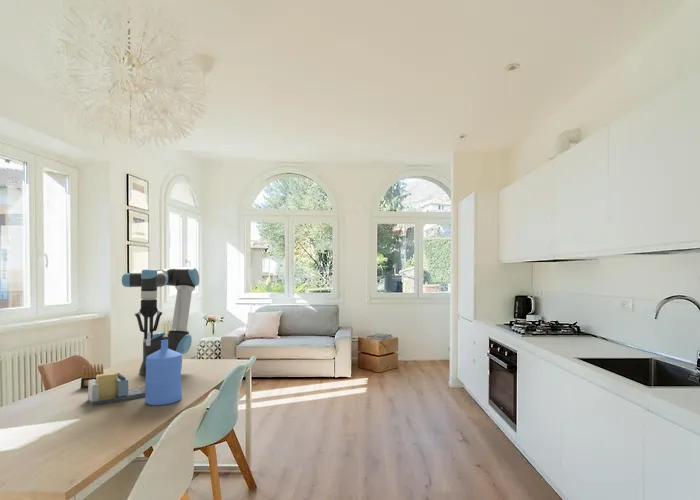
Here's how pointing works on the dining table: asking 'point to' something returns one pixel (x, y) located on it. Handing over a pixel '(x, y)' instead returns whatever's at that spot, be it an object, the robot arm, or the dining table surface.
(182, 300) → the robot arm
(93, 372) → the ammunition clip
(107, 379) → the brass block
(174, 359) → the water jug
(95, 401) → the grey l-shaped bracket
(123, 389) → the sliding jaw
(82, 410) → the dining table surface
